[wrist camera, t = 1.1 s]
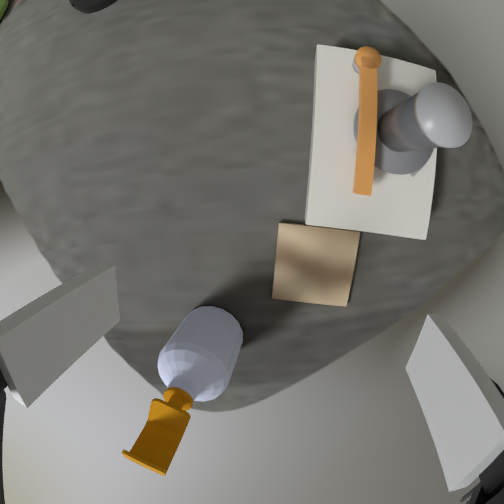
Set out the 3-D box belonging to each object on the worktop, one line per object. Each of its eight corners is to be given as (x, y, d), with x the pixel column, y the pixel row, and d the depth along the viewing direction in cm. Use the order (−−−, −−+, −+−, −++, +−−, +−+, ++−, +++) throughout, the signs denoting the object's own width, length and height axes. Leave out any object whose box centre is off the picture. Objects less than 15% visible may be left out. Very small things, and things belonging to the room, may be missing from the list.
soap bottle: (252, 319, 39) (200, 473, 16) (232, 364, 42) (181, 500, 19) (193, 294, 39) (94, 421, 16) (179, 341, 42) (99, 461, 19)
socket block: (314, 60, 28) (317, 39, 22) (420, 81, 26) (440, 67, 20) (304, 216, 34) (306, 227, 28) (410, 230, 32) (430, 243, 26)
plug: (346, 96, 29) (385, 39, 13) (413, 110, 28) (489, 77, 12) (342, 167, 32) (384, 166, 15) (410, 178, 30) (490, 192, 14)
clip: (353, 48, 21) (356, 44, 20) (378, 53, 21) (381, 49, 20) (347, 192, 26) (349, 192, 25) (372, 195, 26) (376, 196, 25)
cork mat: (279, 222, 35) (279, 223, 34) (359, 231, 33) (360, 232, 33) (272, 296, 38) (271, 298, 37) (345, 304, 36) (346, 306, 36)
